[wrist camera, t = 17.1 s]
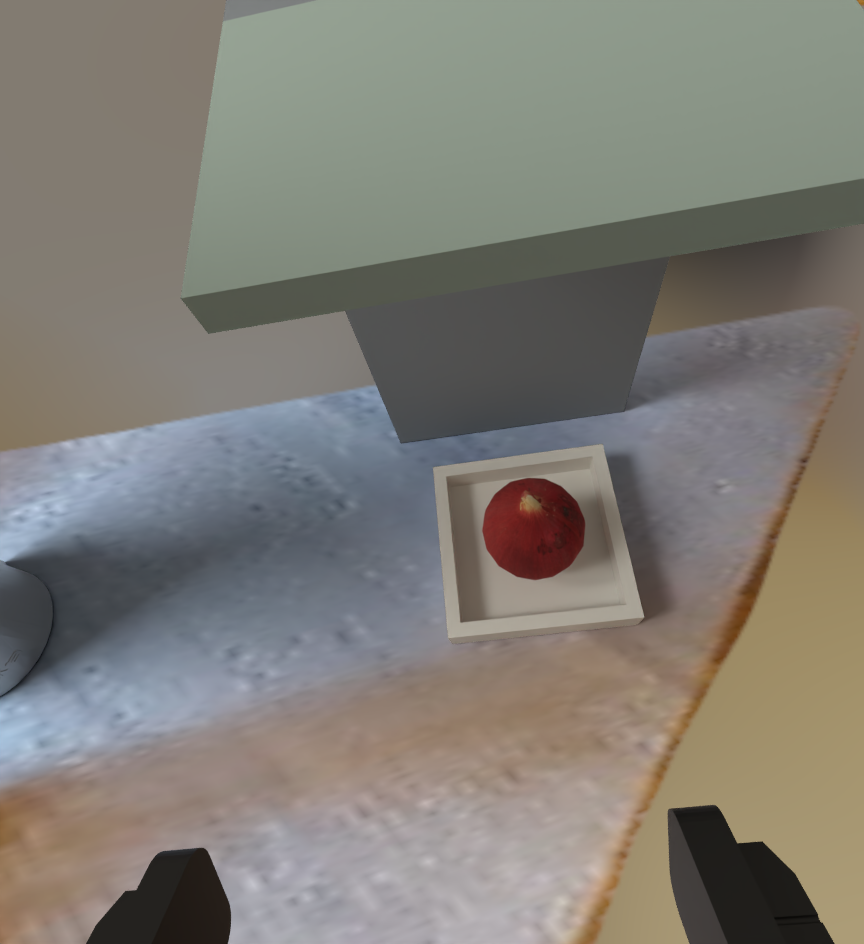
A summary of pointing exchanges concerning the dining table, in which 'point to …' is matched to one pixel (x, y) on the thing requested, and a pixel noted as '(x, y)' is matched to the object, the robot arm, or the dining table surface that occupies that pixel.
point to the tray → (524, 600)
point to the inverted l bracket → (511, 180)
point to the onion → (533, 528)
